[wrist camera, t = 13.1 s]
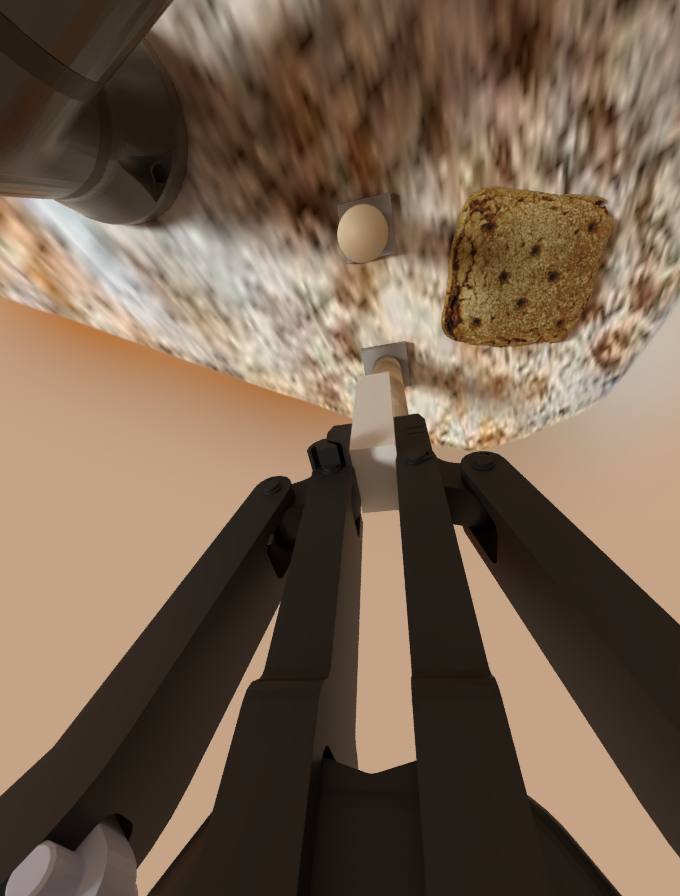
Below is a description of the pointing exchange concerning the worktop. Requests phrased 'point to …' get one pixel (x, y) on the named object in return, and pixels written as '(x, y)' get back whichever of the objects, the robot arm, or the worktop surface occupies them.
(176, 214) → the worktop surface
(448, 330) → the pastry
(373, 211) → the post
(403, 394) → the post
